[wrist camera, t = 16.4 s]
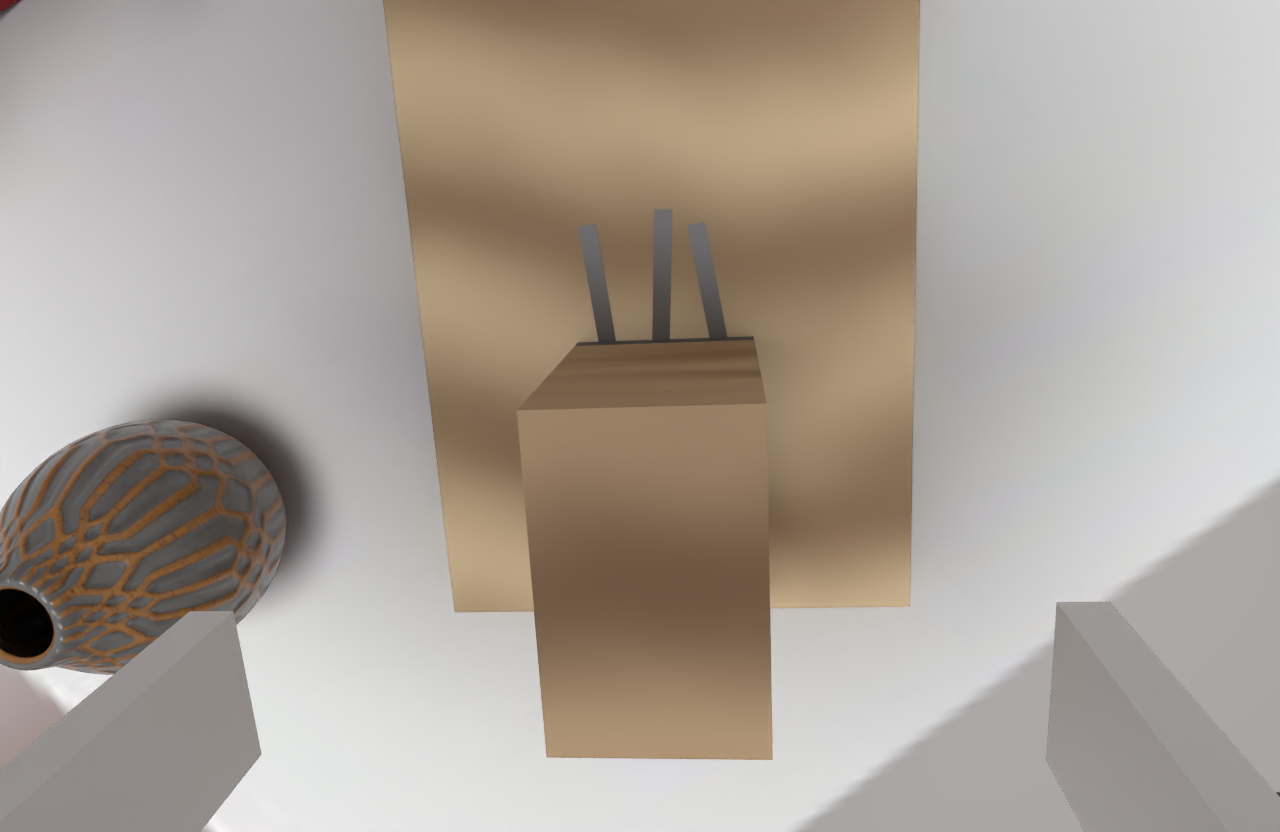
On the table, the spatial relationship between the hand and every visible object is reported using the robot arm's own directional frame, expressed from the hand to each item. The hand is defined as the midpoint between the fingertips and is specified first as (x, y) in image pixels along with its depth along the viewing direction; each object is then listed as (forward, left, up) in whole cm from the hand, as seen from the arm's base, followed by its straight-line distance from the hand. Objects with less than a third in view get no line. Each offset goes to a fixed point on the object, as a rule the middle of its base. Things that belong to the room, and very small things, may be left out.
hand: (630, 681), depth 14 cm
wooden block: (+1, 0, -13) cm, 13 cm away
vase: (+1, -15, -14) cm, 21 cm away
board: (-7, 0, -14) cm, 15 cm away
